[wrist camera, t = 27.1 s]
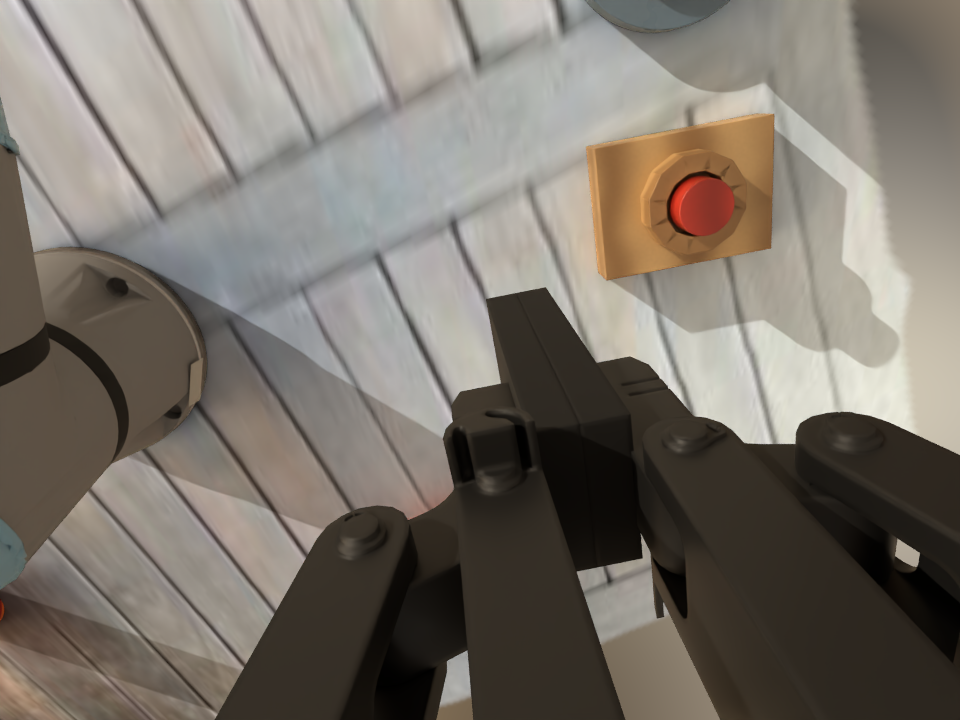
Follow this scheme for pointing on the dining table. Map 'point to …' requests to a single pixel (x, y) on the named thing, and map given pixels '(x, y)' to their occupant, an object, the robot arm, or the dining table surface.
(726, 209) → the button
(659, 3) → the swivel base
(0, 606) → the paper cup
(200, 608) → the dining table surface
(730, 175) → the button block
